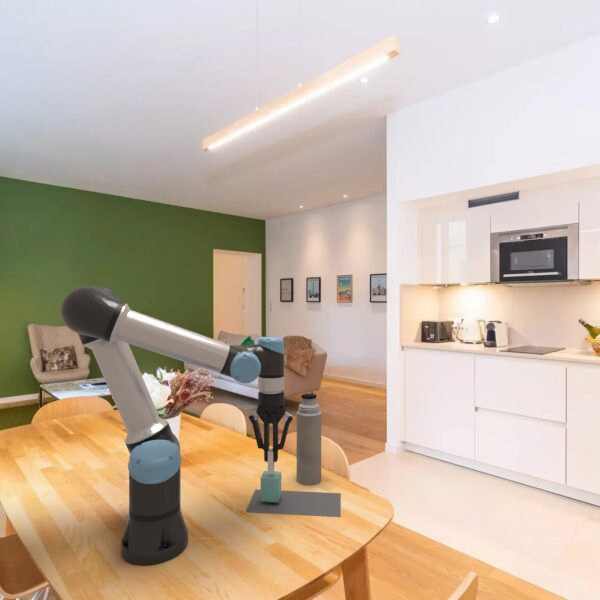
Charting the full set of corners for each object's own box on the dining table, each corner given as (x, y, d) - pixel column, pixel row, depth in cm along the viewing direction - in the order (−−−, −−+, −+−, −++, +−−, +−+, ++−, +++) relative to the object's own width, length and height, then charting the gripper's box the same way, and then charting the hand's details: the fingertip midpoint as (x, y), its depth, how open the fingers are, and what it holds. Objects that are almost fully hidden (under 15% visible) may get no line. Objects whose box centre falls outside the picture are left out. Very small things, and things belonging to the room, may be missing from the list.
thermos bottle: (307, 474, 144) (308, 390, 144) (326, 481, 139) (326, 394, 138) (291, 481, 138) (291, 394, 138) (309, 489, 133) (310, 398, 133)
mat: (340, 518, 115) (340, 517, 115) (245, 513, 118) (245, 512, 118) (340, 494, 129) (340, 493, 129) (255, 490, 132) (255, 489, 132)
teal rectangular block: (278, 502, 121) (278, 478, 121) (260, 501, 122) (260, 478, 122) (281, 493, 126) (281, 471, 126) (263, 493, 127) (263, 470, 127)
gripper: (295, 388, 127) (294, 468, 127) (251, 387, 128) (251, 466, 128) (292, 394, 119) (292, 478, 120) (246, 393, 121) (246, 477, 121)
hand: (271, 472), depth 124 cm, fingers closed
